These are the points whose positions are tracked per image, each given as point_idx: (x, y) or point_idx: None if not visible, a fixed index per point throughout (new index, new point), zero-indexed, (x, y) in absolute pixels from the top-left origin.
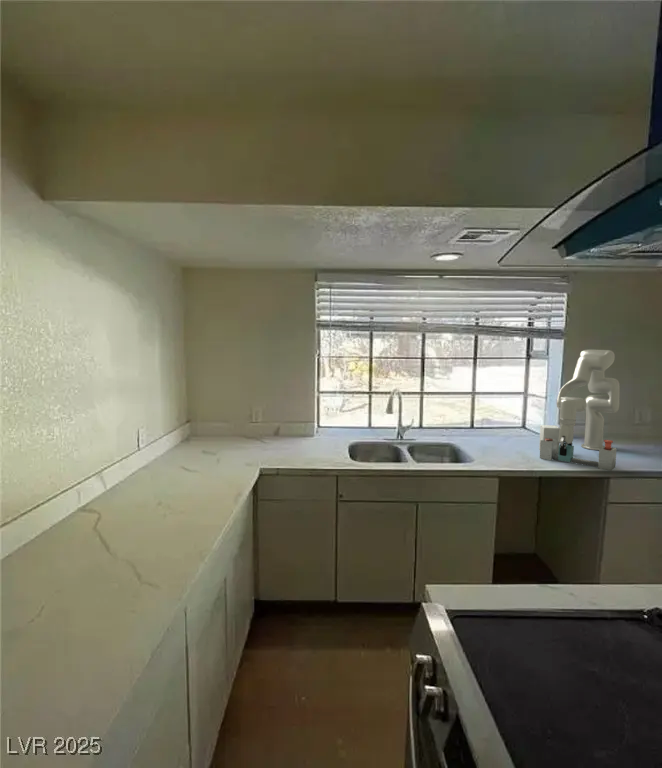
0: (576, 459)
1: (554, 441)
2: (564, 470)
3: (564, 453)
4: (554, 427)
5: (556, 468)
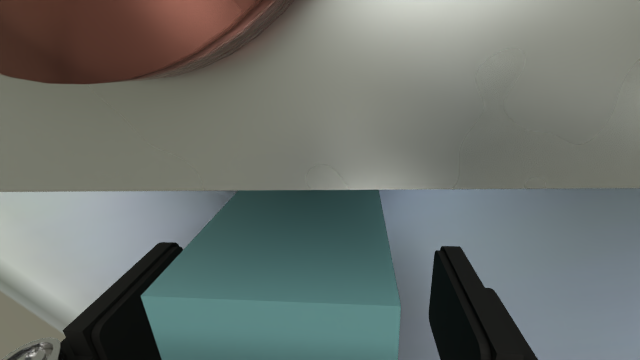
0: None
1: (179, 179)
2: (18, 295)
3: None
4: None
5: (4, 238)
